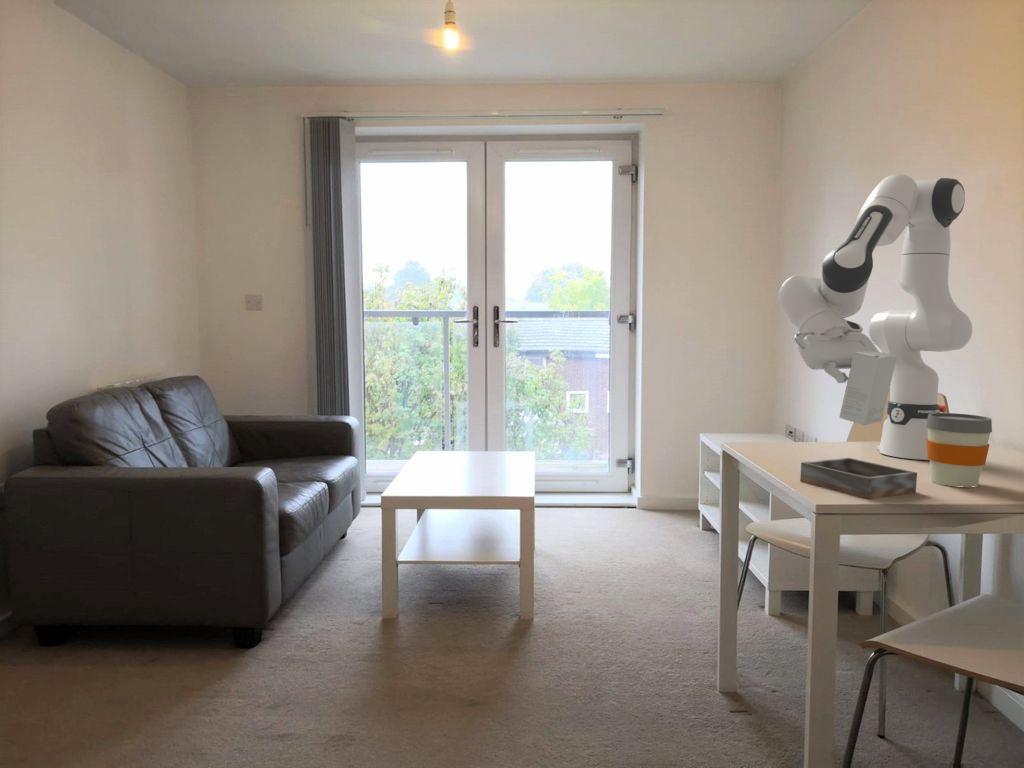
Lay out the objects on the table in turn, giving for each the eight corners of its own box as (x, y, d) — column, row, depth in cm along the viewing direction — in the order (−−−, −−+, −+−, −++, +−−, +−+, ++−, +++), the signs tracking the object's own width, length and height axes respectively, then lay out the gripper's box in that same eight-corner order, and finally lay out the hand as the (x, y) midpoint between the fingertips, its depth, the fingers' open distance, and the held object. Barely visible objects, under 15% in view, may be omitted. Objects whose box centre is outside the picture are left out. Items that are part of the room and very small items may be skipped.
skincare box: (856, 415, 162) (870, 349, 159) (883, 423, 157) (898, 355, 154) (837, 418, 156) (852, 350, 154) (865, 426, 152) (881, 356, 149)
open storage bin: (847, 475, 169) (848, 457, 169) (915, 492, 154) (917, 472, 154) (800, 481, 163) (801, 462, 162) (866, 499, 147) (868, 478, 147)
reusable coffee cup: (965, 477, 169) (971, 413, 168) (1000, 490, 157) (1006, 421, 156) (911, 476, 170) (915, 412, 168) (941, 489, 157) (946, 420, 156)
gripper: (799, 323, 158) (834, 372, 150) (864, 324, 167) (901, 370, 159) (782, 343, 162) (815, 391, 155) (847, 343, 171) (881, 388, 164)
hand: (859, 380), depth 157 cm, fingers closed on skincare box, 8 cm apart
